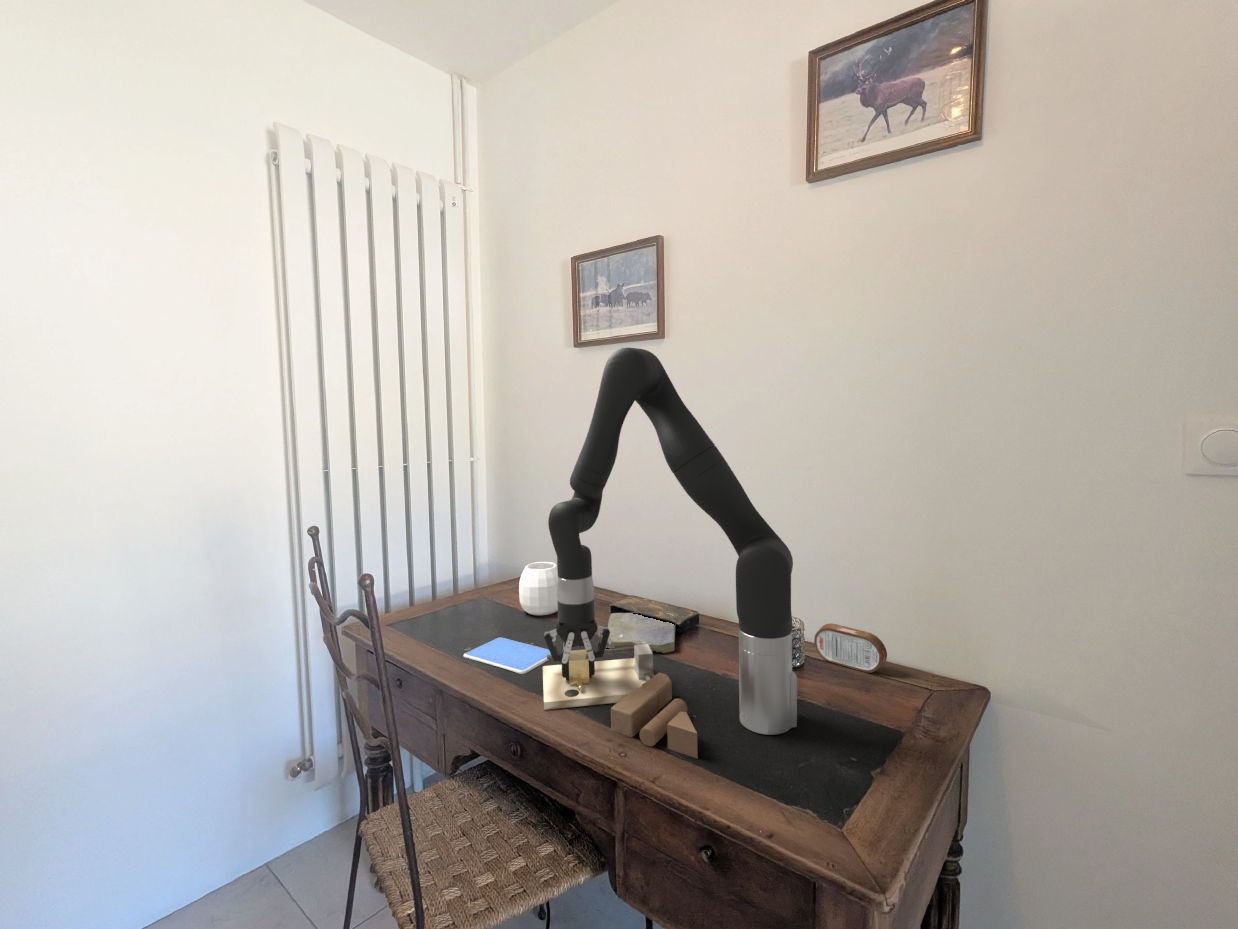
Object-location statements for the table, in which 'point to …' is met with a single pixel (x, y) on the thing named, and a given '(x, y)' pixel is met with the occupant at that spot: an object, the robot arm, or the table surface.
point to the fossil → (640, 632)
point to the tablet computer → (509, 655)
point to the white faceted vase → (539, 588)
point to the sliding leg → (578, 668)
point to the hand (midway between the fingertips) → (578, 677)
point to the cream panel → (599, 680)
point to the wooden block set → (655, 716)
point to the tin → (850, 647)
